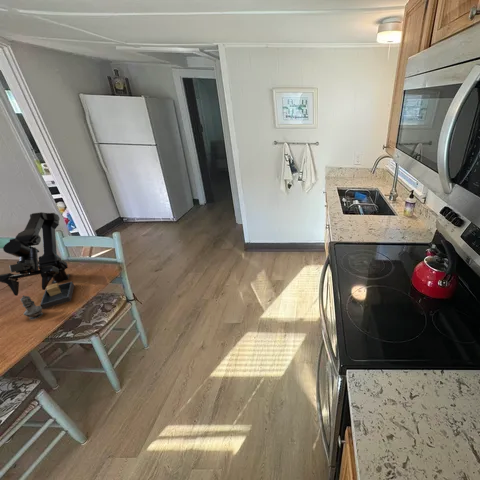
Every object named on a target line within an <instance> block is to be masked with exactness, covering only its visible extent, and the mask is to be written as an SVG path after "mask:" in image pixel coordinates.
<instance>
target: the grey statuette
mask: <svg viewBox="0 0 480 480" xmlns="http://www.w3.org/2000/svg"><path fill="white" fill-rule="evenodd" d="M20 302H21V304H22V307H23V308H25V311H24V312H23V316H26V317H27V318H28V319H29V320H36V319H40V317H42V316H43V315H44V313H43V309H42V307H41V306H40V305H36V303H35V301H33V300H32V299H31V297H30V296H29V295H23V294H22V297H21V298H20Z"/></svg>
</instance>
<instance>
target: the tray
mask: <svg viewBox="0 0 480 480" xmlns="http://www.w3.org/2000/svg"><path fill="white" fill-rule="evenodd" d="M58 286H59V287H60V289H61V293H59V294H56V295H53V296H50V295H49V293H48V292H47V288H46V289H45V290H44V293H43V295H42V299H41V301H40V304H39V306H41V307H42V310H44V309H49V308H52V307H56V306H59V305H62V304H66V303H68V302H72V298H73V293H74V288H75V284H74V282H73V281H67V282H65V283H60V284H58Z"/></svg>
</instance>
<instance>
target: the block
mask: <svg viewBox="0 0 480 480" xmlns="http://www.w3.org/2000/svg"><path fill="white" fill-rule="evenodd" d="M58 285H59V283H54V284H50V285H49V284H48V285H47V287H46V288H47V292H48V293H49V295H50V296H53V295H56V294H59V293H61V289H60V287H59V286H58Z"/></svg>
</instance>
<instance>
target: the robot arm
mask: <svg viewBox="0 0 480 480" xmlns="http://www.w3.org/2000/svg"><path fill="white" fill-rule="evenodd" d="M60 220H61V219H60V216H59V214H57V213H55V212H42V211H41V212H40V211H39V212H31V213H30V214H29V219H28V222H27V224H26V226H25V228H24V230H22V231H20V232H18V233H17V234H16V235H15V237H14V238H10V239H9V240H8V242H6V243H5V244H4V245H3V247H2V250H3V252H5V253H6V254H8V255H11V256H13V257H16V258H18V261H16V263H14V264H9V265H8V266H9V270H10V272H7V273H3V274H0V283H1V284H6V285H7V286H8V287H9V288H10V290H11V291H12V293H13V295H14V296H16V297H17V296H19V289H20V287H19V286H20V281H18V280H19V279H22V278H28V277H33V276H37V275H38V276H39V275H40V277H41V290H42V291H45V290H46V287H47V286H49V284H50V282H52V283H51V285H53V284H56V283H57V284H59V283H61V282H65V281H68V280H69V278H70V275H71V274H70V273H66V272H67V271H66V270H67V269H68V268H69V267H68V263H67V261H64V260H62V257H61V256H59V254H58V253H57V252H58V251H57V239H56V236H57V235H56V229H57V228H58V227H59V225H60ZM40 232H41V233H42V237H41V236H40V235H39V234H40ZM41 242H42V249H43V251H42V252H43V254H42V255H40V256H38V255H39V254H38V253H40V250H39V249H38V248H37V247H36V246H39V245H40V243H41ZM33 246H35V247H33ZM14 273H16V274H14ZM51 280H52V281H51Z"/></svg>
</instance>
